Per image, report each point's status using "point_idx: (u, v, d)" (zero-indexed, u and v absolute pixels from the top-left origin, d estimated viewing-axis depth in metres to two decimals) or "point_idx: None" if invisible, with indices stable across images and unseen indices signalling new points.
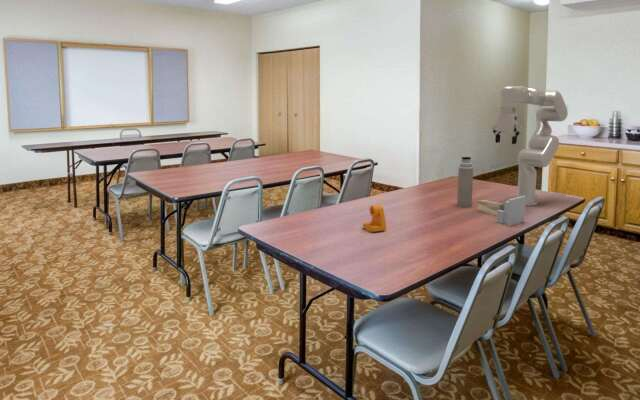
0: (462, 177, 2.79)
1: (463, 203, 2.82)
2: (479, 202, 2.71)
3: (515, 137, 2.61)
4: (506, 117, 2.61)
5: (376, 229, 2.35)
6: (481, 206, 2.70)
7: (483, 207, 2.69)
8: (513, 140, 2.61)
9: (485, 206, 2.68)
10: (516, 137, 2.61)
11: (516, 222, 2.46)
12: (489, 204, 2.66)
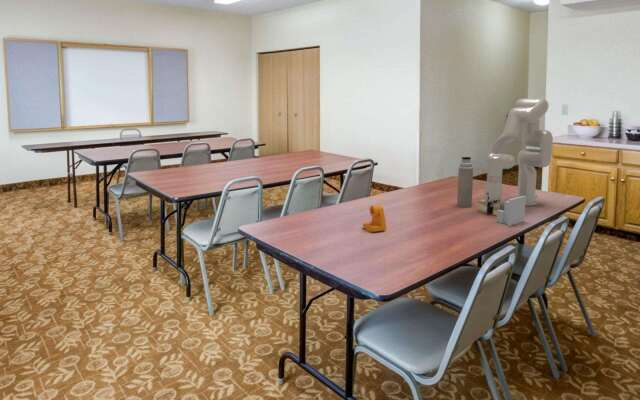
0: (462, 177, 2.79)
1: (463, 203, 2.82)
2: (479, 202, 2.71)
3: None
4: (499, 186, 2.63)
5: (376, 229, 2.35)
6: (481, 206, 2.70)
7: (483, 207, 2.69)
8: None
9: (485, 206, 2.68)
10: None
11: (516, 222, 2.46)
12: None
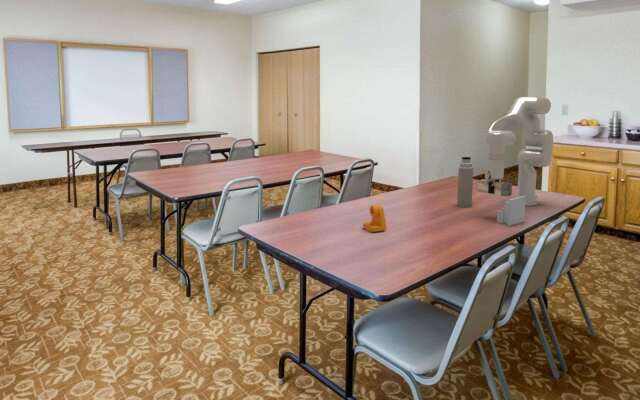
0: (462, 177, 2.79)
1: (463, 203, 2.82)
2: (480, 182, 2.58)
3: None
4: (500, 164, 2.50)
5: (376, 229, 2.35)
6: (482, 186, 2.57)
7: (484, 187, 2.56)
8: None
9: (486, 185, 2.55)
10: None
11: (516, 222, 2.46)
12: None
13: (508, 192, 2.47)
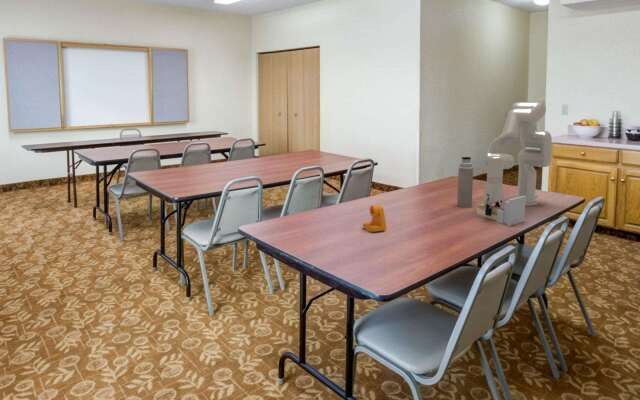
0: (462, 177, 2.79)
1: (463, 203, 2.82)
2: (478, 206, 2.61)
3: (499, 206, 2.59)
4: (499, 187, 2.53)
5: (376, 229, 2.35)
6: (480, 211, 2.60)
7: (482, 212, 2.59)
8: None
9: None
10: None
11: (516, 222, 2.46)
12: None
13: None
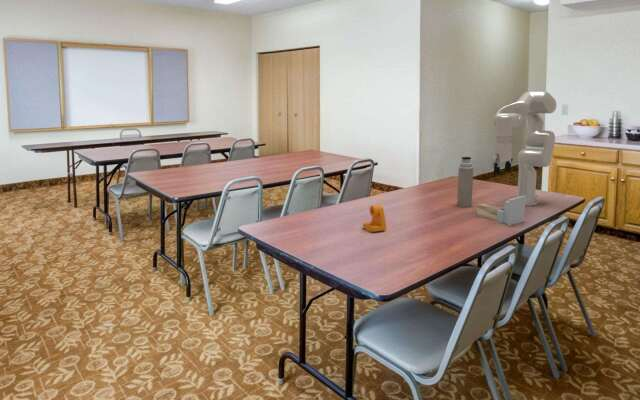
0: (462, 177, 2.79)
1: (463, 203, 2.82)
2: (478, 206, 2.61)
3: None
4: (508, 146, 2.53)
5: (376, 229, 2.35)
6: (480, 211, 2.60)
7: (482, 212, 2.59)
8: None
9: (485, 210, 2.58)
10: None
11: (516, 222, 2.46)
12: (489, 209, 2.56)
13: None
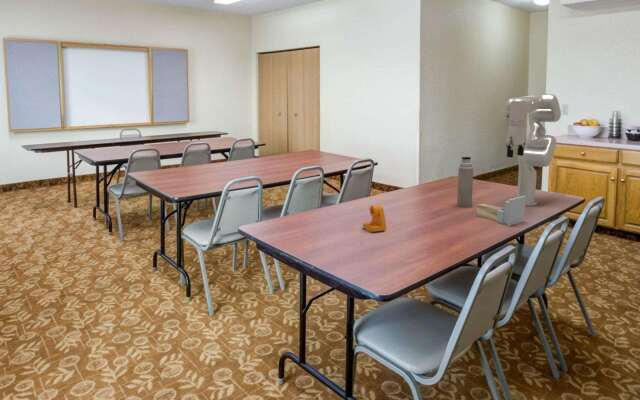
0: (462, 177, 2.79)
1: (463, 203, 2.82)
2: (478, 206, 2.61)
3: None
4: (522, 130, 2.59)
5: (376, 229, 2.35)
6: (480, 211, 2.60)
7: (482, 212, 2.59)
8: None
9: (485, 210, 2.58)
10: None
11: (516, 222, 2.46)
12: (489, 209, 2.56)
13: None
